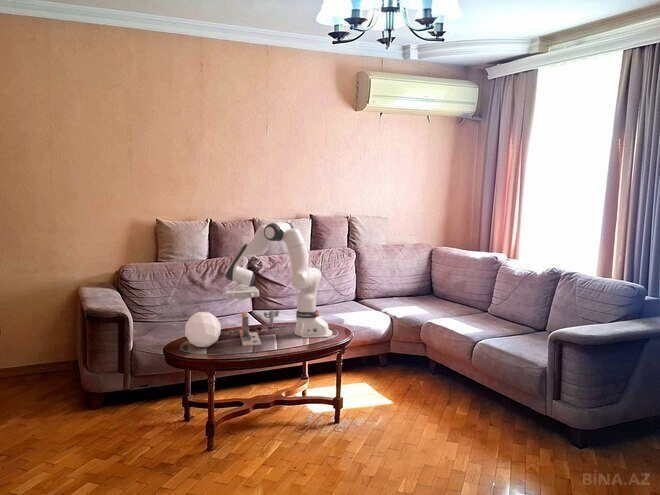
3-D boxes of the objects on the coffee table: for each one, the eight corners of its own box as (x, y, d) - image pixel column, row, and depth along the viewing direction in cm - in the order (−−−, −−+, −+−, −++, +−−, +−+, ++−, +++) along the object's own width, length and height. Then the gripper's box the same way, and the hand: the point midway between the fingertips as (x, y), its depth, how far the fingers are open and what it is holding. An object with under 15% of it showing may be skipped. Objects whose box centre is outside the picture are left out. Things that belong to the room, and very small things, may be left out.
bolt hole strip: (246, 334, 346) (246, 332, 346) (257, 334, 347) (256, 331, 347) (250, 345, 323) (250, 343, 323) (260, 344, 325) (260, 342, 325)
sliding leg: (239, 333, 337) (239, 311, 336) (248, 333, 338) (248, 311, 337) (240, 335, 332) (240, 313, 331) (249, 335, 333) (248, 313, 332)
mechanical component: (263, 327, 362) (263, 312, 361) (277, 325, 368) (277, 309, 367) (265, 328, 359) (265, 312, 358) (279, 326, 365) (279, 310, 364)
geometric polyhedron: (195, 360, 319) (172, 334, 312) (207, 338, 336) (185, 313, 330) (222, 346, 312) (198, 319, 305) (232, 325, 329) (210, 299, 323)
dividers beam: (239, 335, 345) (238, 309, 343) (247, 334, 346) (247, 308, 344) (241, 345, 322) (241, 318, 321) (251, 345, 324) (250, 317, 322)
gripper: (223, 288, 355) (224, 292, 342) (257, 286, 360) (259, 289, 346) (224, 298, 356) (225, 302, 343) (257, 296, 360) (260, 300, 347)
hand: (242, 296), depth 345 cm, fingers open, 8 cm apart
